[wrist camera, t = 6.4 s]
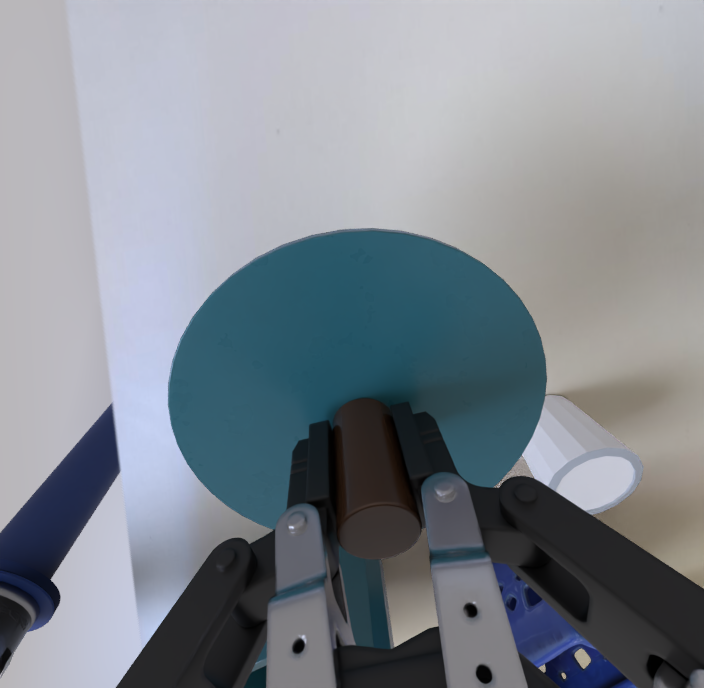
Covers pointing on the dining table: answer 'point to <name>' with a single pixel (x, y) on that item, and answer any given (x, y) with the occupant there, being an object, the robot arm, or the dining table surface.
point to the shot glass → (581, 458)
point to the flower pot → (552, 638)
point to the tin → (352, 610)
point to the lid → (355, 376)
